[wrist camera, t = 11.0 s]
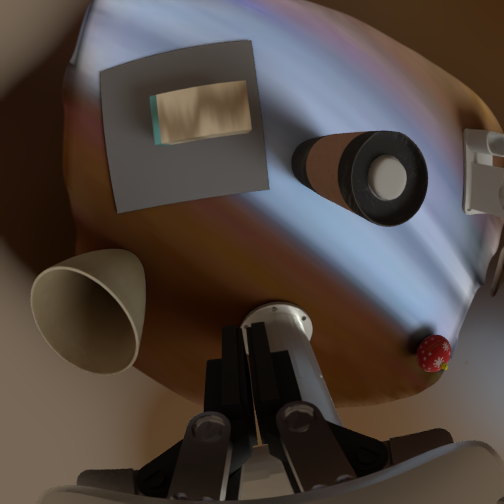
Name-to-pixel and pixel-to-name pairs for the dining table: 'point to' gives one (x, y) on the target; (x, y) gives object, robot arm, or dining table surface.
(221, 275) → the dining table surface
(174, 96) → the maple block
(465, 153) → the phone holder
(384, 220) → the travel mug
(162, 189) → the rubber mat
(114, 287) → the plant pot
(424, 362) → the christmas ornament
